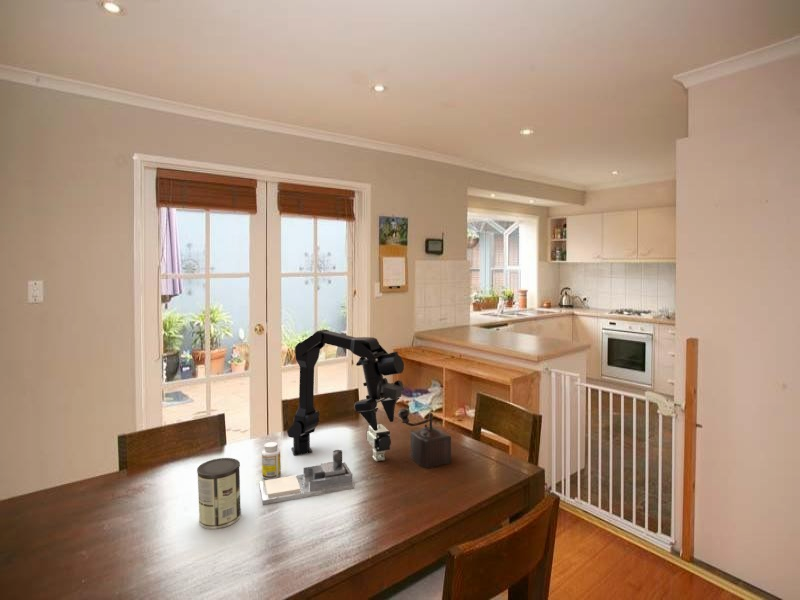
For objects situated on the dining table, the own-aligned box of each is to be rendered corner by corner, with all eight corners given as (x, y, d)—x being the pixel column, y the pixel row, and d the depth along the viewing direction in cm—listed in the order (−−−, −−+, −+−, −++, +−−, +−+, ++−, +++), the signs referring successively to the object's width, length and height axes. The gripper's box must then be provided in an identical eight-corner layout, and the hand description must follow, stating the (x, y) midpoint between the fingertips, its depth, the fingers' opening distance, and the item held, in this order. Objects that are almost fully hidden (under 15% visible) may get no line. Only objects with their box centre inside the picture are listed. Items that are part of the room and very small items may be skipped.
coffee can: (217, 505, 126) (216, 455, 125) (249, 511, 123) (248, 460, 121) (189, 525, 116) (187, 471, 115) (222, 532, 113) (221, 477, 112)
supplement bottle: (273, 470, 147) (273, 439, 147) (284, 475, 144) (283, 443, 143) (258, 476, 143) (258, 444, 142) (269, 482, 139) (268, 449, 139)
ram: (311, 476, 140) (310, 451, 140) (339, 471, 143) (339, 446, 143) (315, 485, 134) (315, 459, 133) (345, 480, 137) (345, 455, 137)
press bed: (265, 482, 136) (265, 480, 136) (295, 477, 140) (295, 475, 140) (268, 496, 128) (267, 494, 128) (300, 491, 131) (300, 488, 131)
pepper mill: (434, 451, 163) (435, 401, 162) (451, 463, 153) (452, 410, 152) (395, 459, 156) (395, 407, 155) (410, 472, 146) (411, 417, 145)
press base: (259, 485, 137) (259, 473, 137) (344, 471, 147) (343, 460, 146) (262, 504, 126) (262, 491, 126) (354, 488, 136) (354, 476, 135)
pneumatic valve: (379, 451, 163) (379, 418, 162) (391, 464, 152) (391, 429, 151) (364, 454, 160) (364, 420, 160) (375, 467, 150) (375, 431, 149)
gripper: (378, 380, 133) (389, 434, 132) (409, 368, 149) (419, 415, 148) (348, 385, 139) (359, 436, 138) (382, 372, 155) (391, 418, 154)
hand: (384, 426), depth 144 cm, fingers open, 9 cm apart
